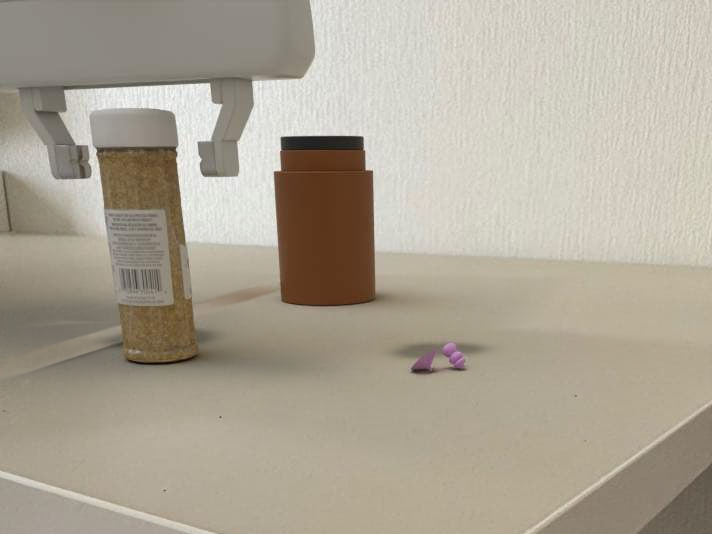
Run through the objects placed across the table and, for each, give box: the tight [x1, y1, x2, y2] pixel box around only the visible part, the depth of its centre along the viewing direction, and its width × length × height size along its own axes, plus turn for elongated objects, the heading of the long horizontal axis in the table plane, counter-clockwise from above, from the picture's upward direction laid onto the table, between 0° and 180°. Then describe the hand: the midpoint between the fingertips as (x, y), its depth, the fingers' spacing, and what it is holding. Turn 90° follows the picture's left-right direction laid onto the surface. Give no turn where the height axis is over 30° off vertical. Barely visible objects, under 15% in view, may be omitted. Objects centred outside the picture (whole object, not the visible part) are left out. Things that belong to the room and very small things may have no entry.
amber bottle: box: [273, 135, 377, 306], centre depth 72 cm, size 8×8×12 cm
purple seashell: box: [410, 342, 467, 372], centre depth 49 cm, size 3×2×2 cm
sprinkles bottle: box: [88, 107, 200, 364], centre depth 50 cm, size 5×5×13 cm
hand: (144, 178), depth 49 cm, fingers open, 8 cm apart
